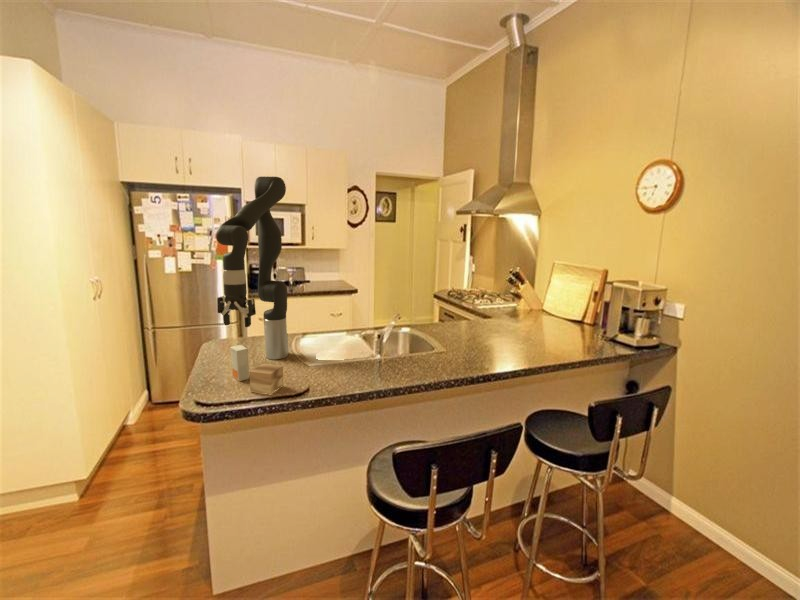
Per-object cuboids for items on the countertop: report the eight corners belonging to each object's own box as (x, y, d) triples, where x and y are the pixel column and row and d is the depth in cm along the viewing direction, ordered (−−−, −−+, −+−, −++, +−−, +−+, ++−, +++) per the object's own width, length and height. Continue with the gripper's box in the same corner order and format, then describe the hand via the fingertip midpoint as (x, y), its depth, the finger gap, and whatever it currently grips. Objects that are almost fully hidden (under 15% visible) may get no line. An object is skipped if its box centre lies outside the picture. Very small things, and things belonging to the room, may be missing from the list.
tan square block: (263, 373, 145) (262, 363, 144) (283, 376, 143) (282, 365, 142) (250, 382, 137) (249, 371, 136) (270, 385, 135) (270, 374, 134)
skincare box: (231, 376, 150) (229, 346, 148) (243, 374, 153) (241, 344, 151) (238, 381, 146) (236, 350, 144) (249, 378, 149) (248, 348, 147)
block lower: (263, 384, 145) (263, 373, 145) (283, 386, 143) (282, 376, 143) (250, 393, 138) (249, 382, 137) (271, 396, 136) (270, 385, 135)
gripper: (258, 281, 144) (260, 325, 147) (224, 279, 148) (227, 321, 151) (245, 284, 137) (248, 330, 140) (210, 282, 141) (213, 326, 144)
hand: (237, 325), depth 146 cm, fingers open, 8 cm apart
